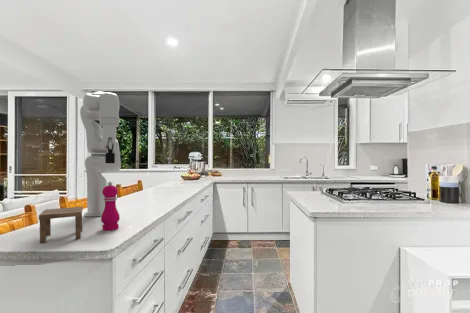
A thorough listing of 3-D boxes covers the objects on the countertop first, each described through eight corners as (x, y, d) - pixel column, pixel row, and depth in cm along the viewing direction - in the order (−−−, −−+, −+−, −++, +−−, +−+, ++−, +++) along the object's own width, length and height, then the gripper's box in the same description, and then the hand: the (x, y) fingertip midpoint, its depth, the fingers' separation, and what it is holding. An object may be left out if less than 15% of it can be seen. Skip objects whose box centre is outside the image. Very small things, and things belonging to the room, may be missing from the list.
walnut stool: (45, 234, 111) (45, 209, 111) (82, 230, 116) (82, 206, 117) (39, 243, 99) (38, 215, 99) (81, 238, 105) (80, 211, 105)
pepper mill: (112, 231, 115) (112, 182, 115) (97, 230, 116) (96, 182, 116) (123, 227, 122) (122, 181, 122) (108, 226, 123) (107, 180, 123)
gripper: (99, 125, 125) (99, 163, 125) (99, 119, 109) (100, 163, 109) (117, 125, 128) (118, 163, 128) (120, 120, 113) (121, 163, 113)
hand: (109, 163), depth 119 cm, fingers open, 9 cm apart
